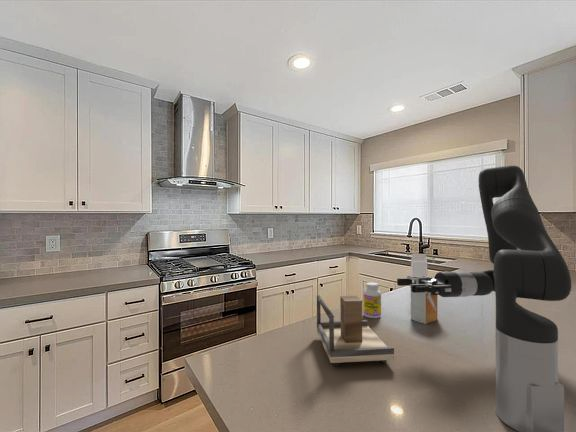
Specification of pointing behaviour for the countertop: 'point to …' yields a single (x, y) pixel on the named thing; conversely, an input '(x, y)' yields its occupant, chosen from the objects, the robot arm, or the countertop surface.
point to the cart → (349, 352)
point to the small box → (423, 307)
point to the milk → (418, 265)
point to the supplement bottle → (372, 300)
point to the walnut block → (351, 319)
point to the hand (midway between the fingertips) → (404, 285)
